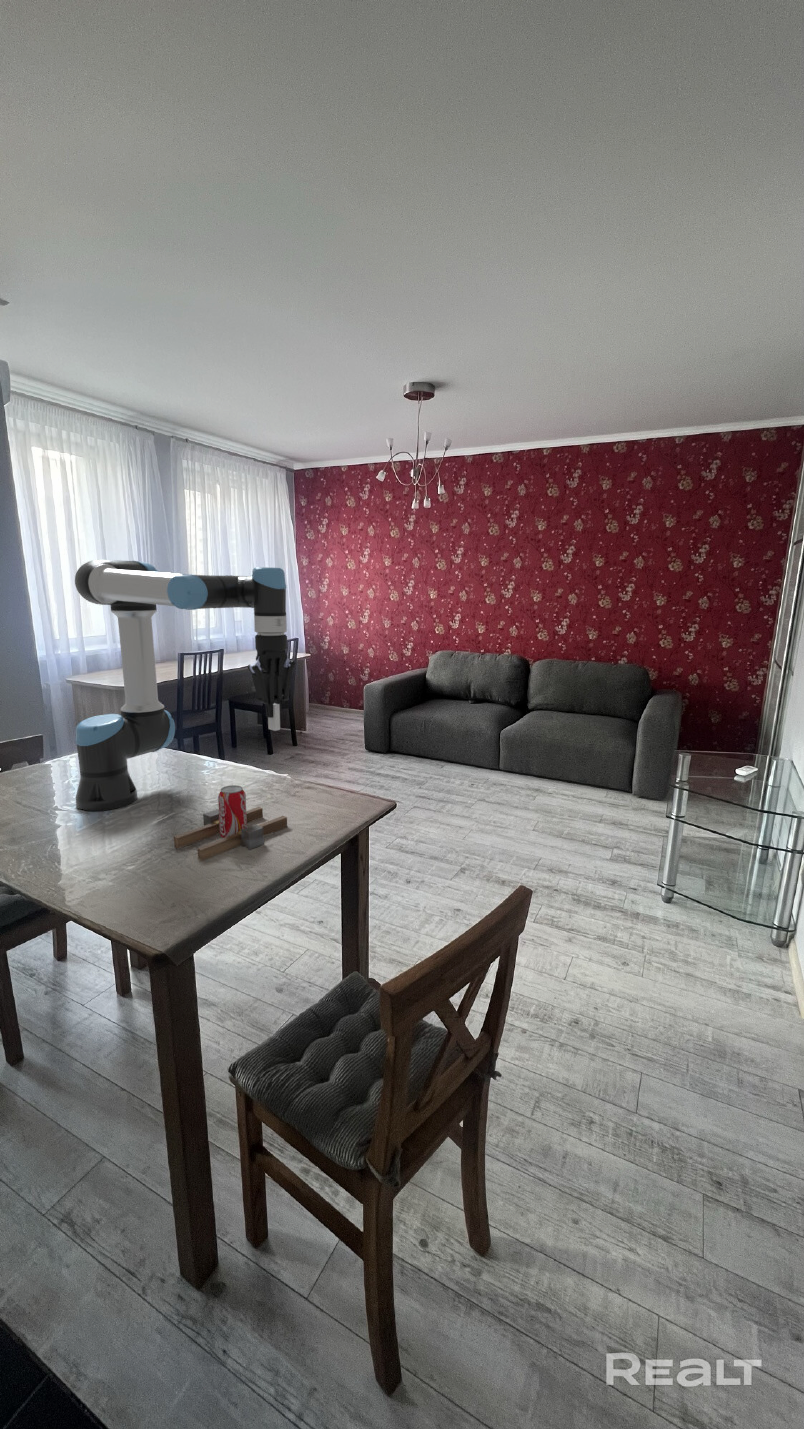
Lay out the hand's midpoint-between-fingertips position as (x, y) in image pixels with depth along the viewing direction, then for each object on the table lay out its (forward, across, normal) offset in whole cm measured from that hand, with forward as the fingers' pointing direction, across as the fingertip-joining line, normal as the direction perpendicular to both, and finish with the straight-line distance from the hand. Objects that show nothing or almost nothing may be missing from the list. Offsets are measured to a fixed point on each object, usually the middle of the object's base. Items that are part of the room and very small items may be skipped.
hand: (274, 729), depth 147 cm
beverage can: (+24, -14, -1) cm, 28 cm away
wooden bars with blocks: (+24, -14, 0) cm, 27 cm away
